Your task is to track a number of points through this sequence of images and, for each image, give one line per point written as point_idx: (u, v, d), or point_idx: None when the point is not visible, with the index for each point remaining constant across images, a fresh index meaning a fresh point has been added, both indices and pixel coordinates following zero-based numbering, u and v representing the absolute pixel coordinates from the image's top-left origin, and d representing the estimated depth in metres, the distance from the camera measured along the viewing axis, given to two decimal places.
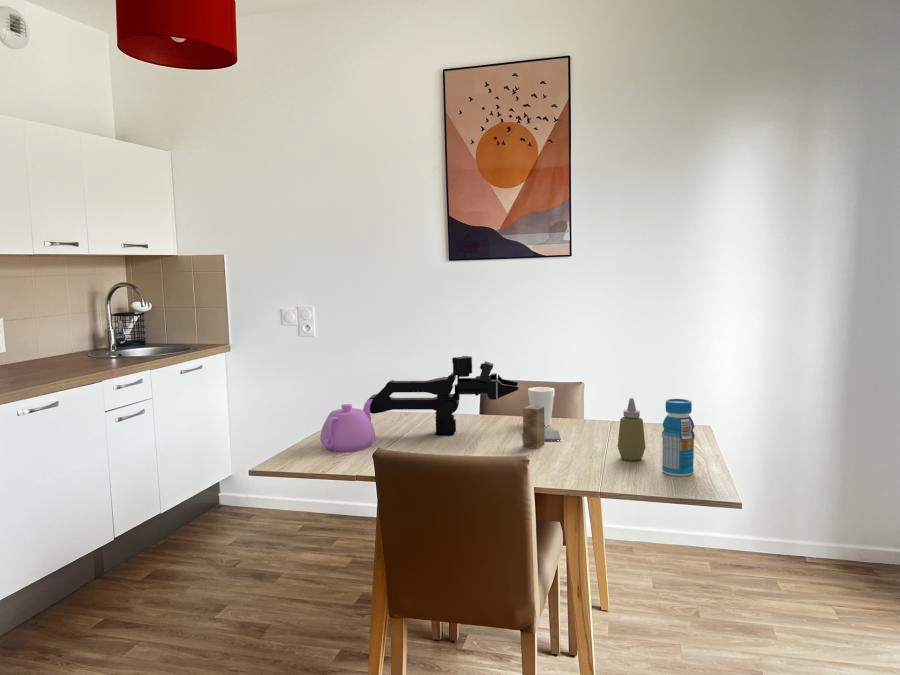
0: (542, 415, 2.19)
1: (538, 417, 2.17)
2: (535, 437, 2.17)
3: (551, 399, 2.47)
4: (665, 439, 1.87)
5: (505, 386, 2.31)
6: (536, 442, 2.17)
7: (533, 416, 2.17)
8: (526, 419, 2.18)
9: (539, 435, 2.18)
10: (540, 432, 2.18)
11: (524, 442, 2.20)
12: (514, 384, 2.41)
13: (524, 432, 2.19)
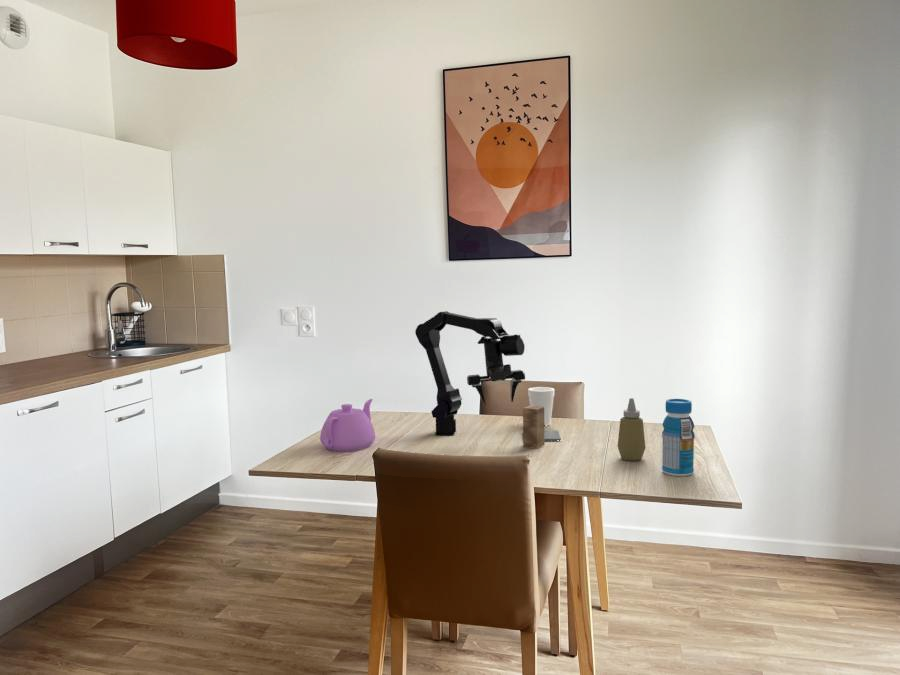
0: (542, 415, 2.19)
1: (538, 417, 2.17)
2: (535, 437, 2.17)
3: (551, 399, 2.47)
4: (665, 439, 1.87)
5: None
6: (536, 442, 2.17)
7: (533, 416, 2.17)
8: (526, 419, 2.18)
9: (539, 435, 2.18)
10: (540, 432, 2.18)
11: (524, 442, 2.20)
12: None
13: (524, 432, 2.19)
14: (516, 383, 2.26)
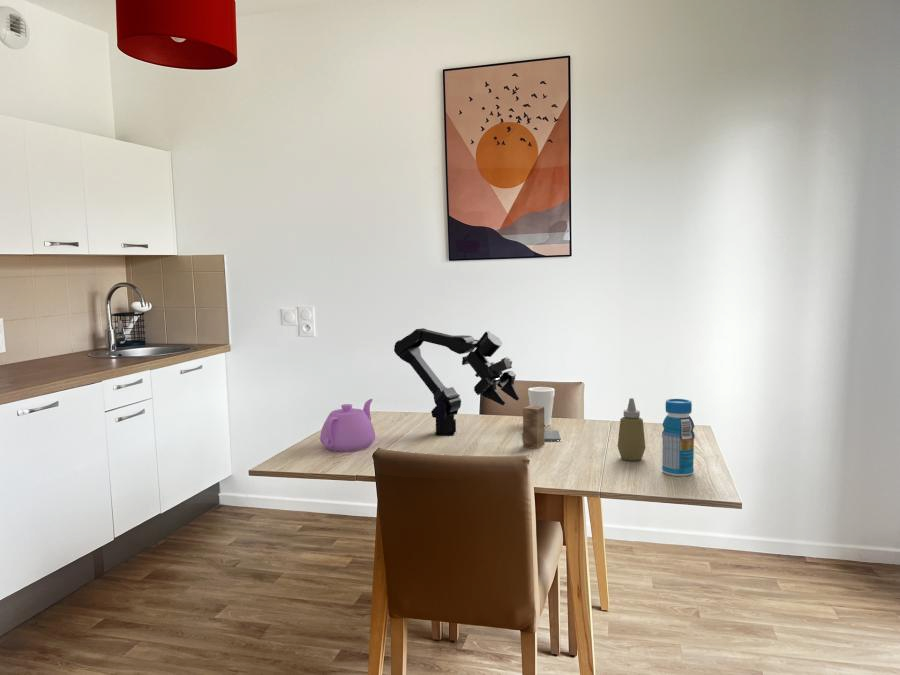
0: (542, 415, 2.19)
1: (538, 417, 2.17)
2: (535, 437, 2.17)
3: (551, 399, 2.47)
4: (665, 439, 1.87)
5: (495, 393, 2.20)
6: (536, 442, 2.17)
7: (533, 416, 2.17)
8: (526, 419, 2.18)
9: (539, 435, 2.18)
10: (540, 432, 2.18)
11: (524, 442, 2.20)
12: (515, 397, 2.28)
13: (524, 432, 2.19)
14: (513, 379, 2.30)
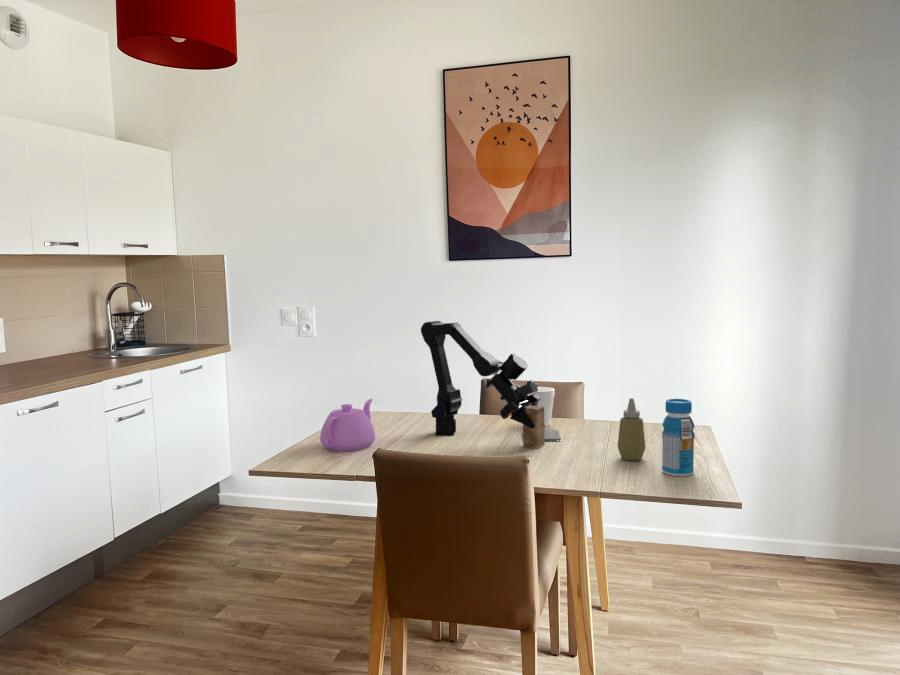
0: (542, 415, 2.19)
1: (538, 417, 2.17)
2: (535, 437, 2.17)
3: (551, 399, 2.47)
4: (665, 439, 1.87)
5: (524, 416, 2.17)
6: (536, 442, 2.17)
7: (533, 416, 2.17)
8: None
9: (539, 435, 2.18)
10: (540, 432, 2.18)
11: (524, 442, 2.20)
12: None
13: (524, 432, 2.19)
14: (536, 403, 2.24)
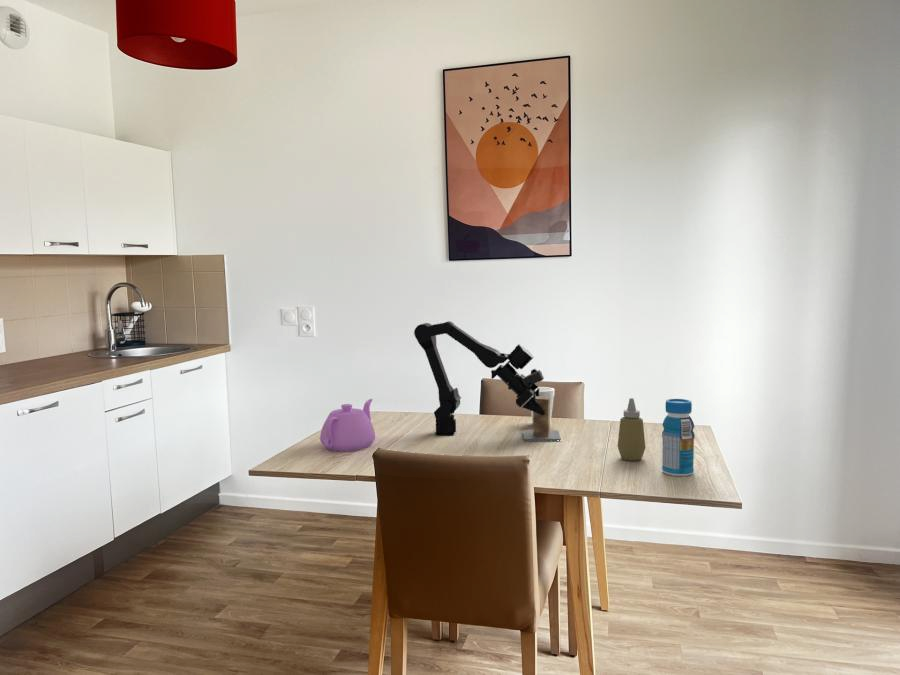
0: (549, 404, 2.32)
1: (548, 406, 2.29)
2: (546, 426, 2.29)
3: (551, 399, 2.47)
4: (665, 439, 1.87)
5: (536, 404, 2.26)
6: (547, 430, 2.29)
7: (544, 406, 2.29)
8: None
9: (548, 423, 2.30)
10: None
11: (534, 431, 2.30)
12: None
13: (534, 422, 2.30)
14: None
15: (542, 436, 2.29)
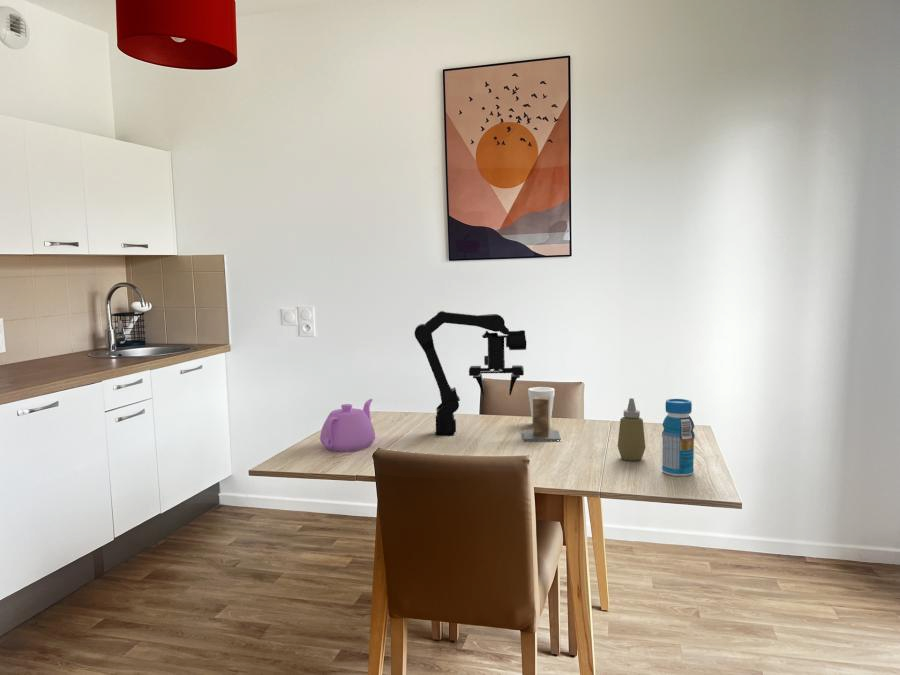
0: None
1: (548, 406, 2.29)
2: (546, 426, 2.29)
3: (551, 399, 2.47)
4: (665, 439, 1.87)
5: None
6: (547, 430, 2.29)
7: (543, 406, 2.29)
8: (536, 409, 2.29)
9: (548, 423, 2.30)
10: (548, 421, 2.31)
11: (534, 431, 2.30)
12: (483, 392, 2.39)
13: (534, 422, 2.30)
14: None
15: (542, 436, 2.29)
